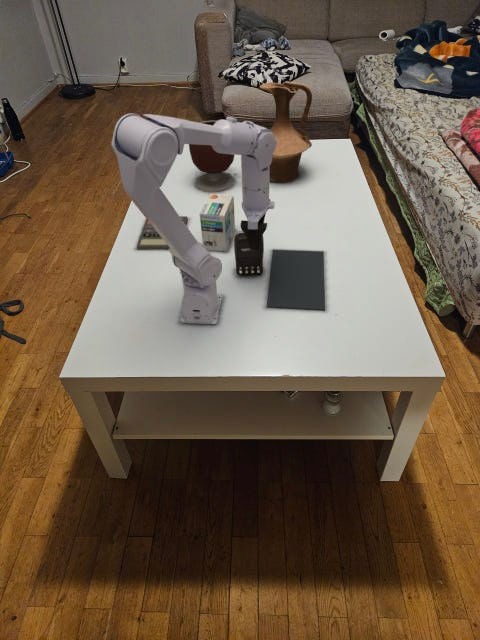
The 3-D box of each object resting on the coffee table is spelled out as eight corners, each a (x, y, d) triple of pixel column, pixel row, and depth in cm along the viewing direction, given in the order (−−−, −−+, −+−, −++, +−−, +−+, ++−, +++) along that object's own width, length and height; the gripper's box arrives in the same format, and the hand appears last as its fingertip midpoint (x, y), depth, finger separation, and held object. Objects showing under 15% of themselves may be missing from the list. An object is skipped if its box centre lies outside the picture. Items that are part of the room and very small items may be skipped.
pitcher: (310, 164, 153) (317, 73, 134) (308, 189, 141) (315, 92, 121) (258, 162, 155) (257, 72, 136) (251, 186, 143) (250, 91, 124)
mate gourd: (238, 173, 150) (236, 110, 136) (233, 193, 140) (230, 128, 126) (192, 172, 152) (185, 109, 138) (184, 192, 142) (176, 127, 128)
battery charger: (235, 279, 110) (233, 239, 102) (235, 269, 113) (233, 230, 105) (264, 278, 110) (264, 238, 102) (263, 268, 113) (263, 228, 105)
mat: (325, 310, 101) (325, 309, 101) (266, 307, 103) (266, 306, 102) (323, 252, 117) (323, 251, 117) (272, 250, 118) (272, 249, 118)
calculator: (187, 215, 130) (180, 246, 119) (187, 218, 131) (180, 249, 120) (147, 216, 131) (136, 246, 120) (147, 218, 131) (136, 249, 120)
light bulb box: (227, 252, 118) (225, 216, 111) (202, 250, 119) (198, 214, 112) (235, 230, 126) (234, 194, 118) (212, 228, 127) (209, 192, 119)
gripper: (272, 202, 89) (271, 258, 99) (276, 168, 100) (275, 222, 109) (236, 201, 90) (239, 257, 99) (244, 168, 100) (246, 221, 110)
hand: (256, 239), depth 104 cm, fingers open, 7 cm apart
